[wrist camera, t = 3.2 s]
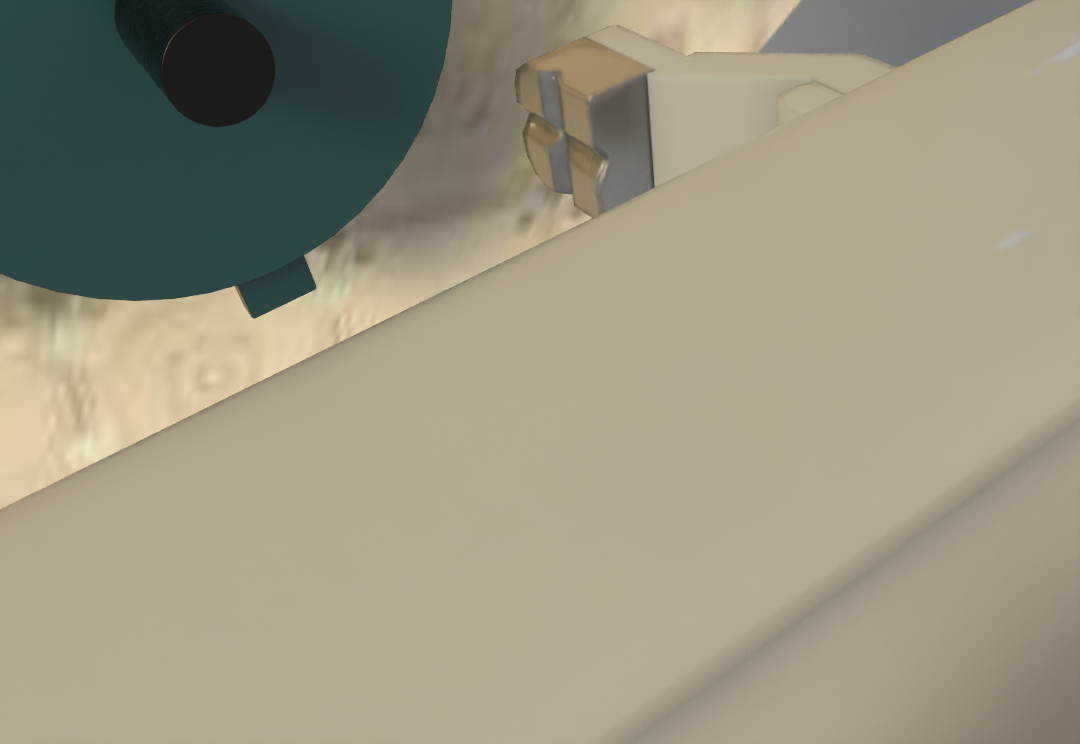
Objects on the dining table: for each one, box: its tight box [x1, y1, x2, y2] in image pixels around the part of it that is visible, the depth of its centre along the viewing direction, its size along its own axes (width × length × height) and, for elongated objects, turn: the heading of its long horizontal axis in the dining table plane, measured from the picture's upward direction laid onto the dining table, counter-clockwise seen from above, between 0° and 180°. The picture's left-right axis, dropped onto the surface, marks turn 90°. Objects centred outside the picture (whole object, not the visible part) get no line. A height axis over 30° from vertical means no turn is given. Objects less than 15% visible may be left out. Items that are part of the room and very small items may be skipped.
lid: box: [0, 0, 452, 301], centre depth 24 cm, size 17×17×6 cm
